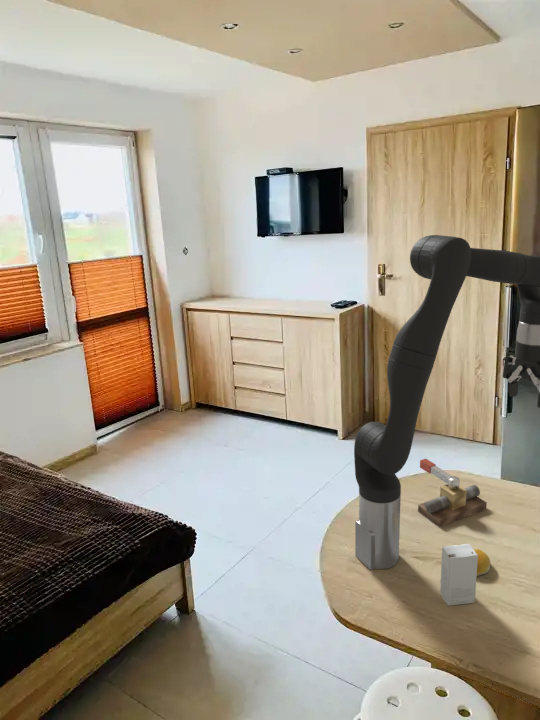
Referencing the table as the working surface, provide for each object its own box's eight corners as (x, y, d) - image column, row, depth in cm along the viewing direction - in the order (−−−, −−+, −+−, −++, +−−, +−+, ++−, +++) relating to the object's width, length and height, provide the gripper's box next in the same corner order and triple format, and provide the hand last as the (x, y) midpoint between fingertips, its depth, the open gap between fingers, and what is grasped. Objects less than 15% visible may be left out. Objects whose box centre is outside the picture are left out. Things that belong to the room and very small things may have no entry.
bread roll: (482, 582, 122) (484, 567, 121) (443, 567, 128) (444, 552, 127) (495, 562, 128) (496, 547, 127) (457, 548, 134) (457, 534, 133)
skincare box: (466, 589, 120) (469, 541, 117) (475, 604, 116) (479, 555, 112) (438, 592, 120) (441, 544, 116) (446, 607, 116) (449, 558, 112)
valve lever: (461, 487, 146) (462, 479, 145) (453, 490, 144) (453, 482, 144) (426, 465, 157) (426, 458, 156) (418, 468, 156) (418, 460, 155)
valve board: (439, 527, 142) (440, 502, 140) (418, 511, 149) (418, 488, 146) (486, 509, 148) (488, 485, 146) (464, 494, 155) (465, 472, 153)
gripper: (498, 335, 141) (493, 395, 146) (547, 349, 128) (540, 414, 133) (520, 330, 144) (514, 389, 149) (570, 343, 131) (562, 407, 136)
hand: (526, 401), depth 141 cm, fingers open, 8 cm apart
